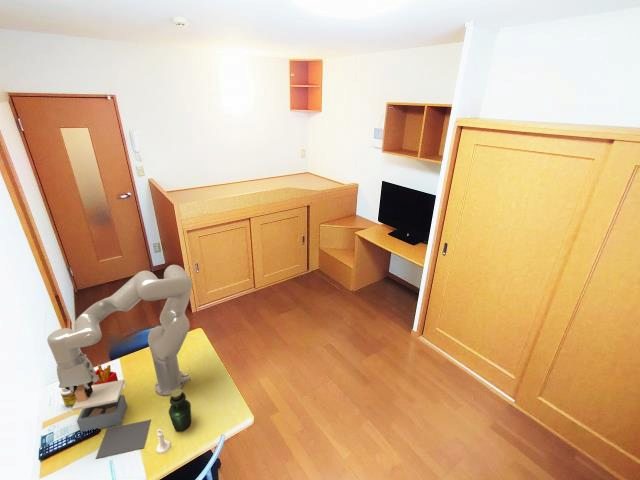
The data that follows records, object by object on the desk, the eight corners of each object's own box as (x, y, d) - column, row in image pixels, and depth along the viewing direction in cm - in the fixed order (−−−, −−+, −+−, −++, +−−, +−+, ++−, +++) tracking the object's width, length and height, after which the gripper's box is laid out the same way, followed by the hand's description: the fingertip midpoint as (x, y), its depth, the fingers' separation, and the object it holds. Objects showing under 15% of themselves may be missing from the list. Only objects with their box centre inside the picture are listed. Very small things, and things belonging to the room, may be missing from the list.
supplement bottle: (64, 410, 132) (57, 392, 129) (65, 400, 137) (59, 383, 133) (81, 404, 135) (74, 386, 131) (81, 394, 140) (75, 377, 136)
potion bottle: (183, 413, 133) (177, 381, 126) (197, 421, 130) (192, 388, 123) (167, 429, 126) (160, 396, 119) (182, 437, 123) (175, 404, 116)
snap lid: (124, 381, 131) (121, 370, 128) (117, 401, 122) (113, 390, 120) (83, 389, 127) (79, 378, 125) (73, 410, 118) (68, 399, 116)
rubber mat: (150, 420, 129) (150, 419, 129) (144, 448, 119) (143, 447, 119) (106, 429, 125) (106, 428, 125) (95, 459, 115) (95, 458, 114)
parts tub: (127, 406, 135) (124, 394, 132) (121, 425, 127) (117, 413, 124) (90, 413, 131) (85, 401, 129) (81, 433, 123) (76, 421, 121)
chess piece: (159, 441, 121) (155, 423, 117) (172, 440, 122) (168, 422, 118) (154, 454, 117) (149, 436, 113) (167, 453, 117) (163, 435, 113)
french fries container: (108, 401, 137) (101, 377, 132) (91, 397, 139) (82, 373, 133) (121, 388, 143) (114, 365, 138) (104, 385, 145) (96, 361, 140)
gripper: (98, 348, 121) (111, 383, 128) (49, 356, 117) (64, 392, 124) (91, 362, 114) (104, 398, 121) (38, 371, 110) (55, 408, 117)
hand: (84, 394), depth 123 cm, fingers closed on snap lid, 3 cm apart
